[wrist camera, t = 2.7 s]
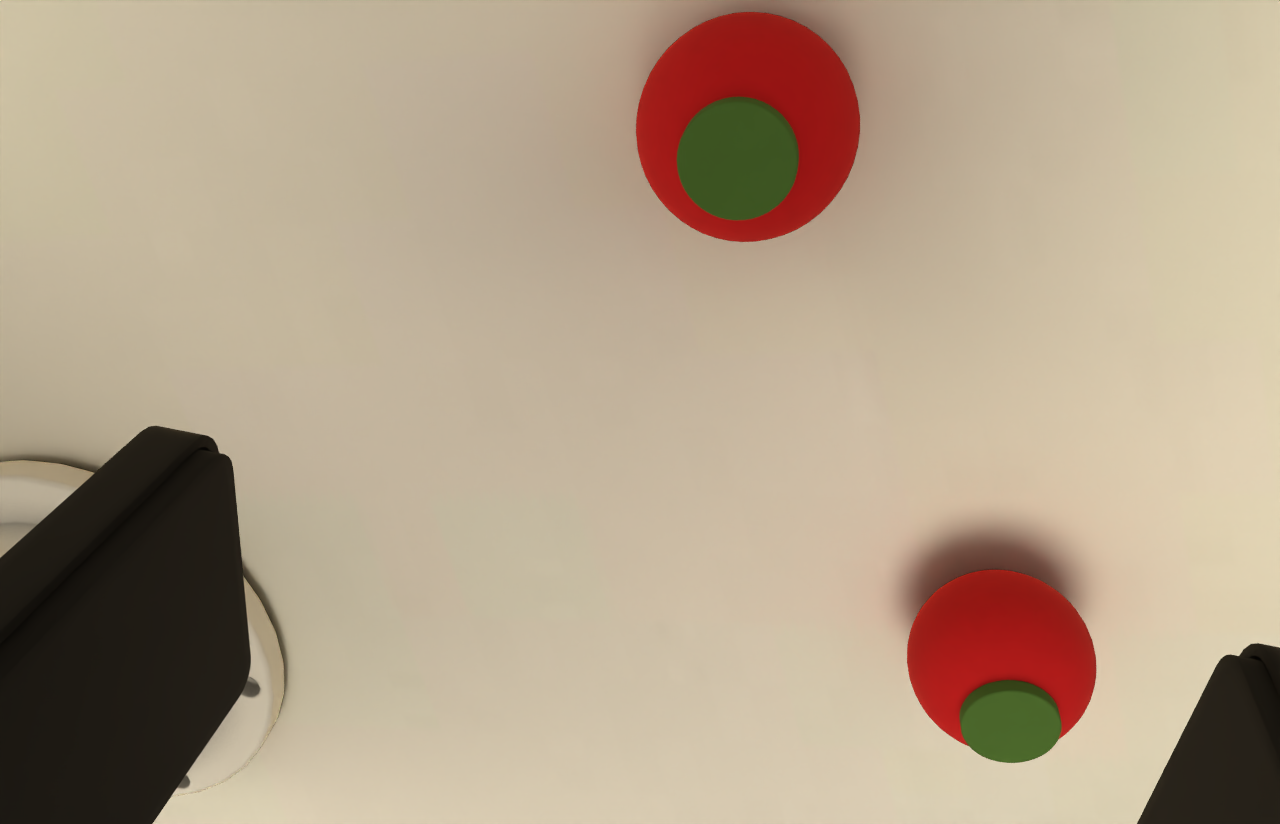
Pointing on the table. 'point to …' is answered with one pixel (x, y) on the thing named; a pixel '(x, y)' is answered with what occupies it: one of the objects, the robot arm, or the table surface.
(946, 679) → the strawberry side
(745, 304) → the table surface
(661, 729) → the table surface
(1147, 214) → the table surface
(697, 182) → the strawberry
